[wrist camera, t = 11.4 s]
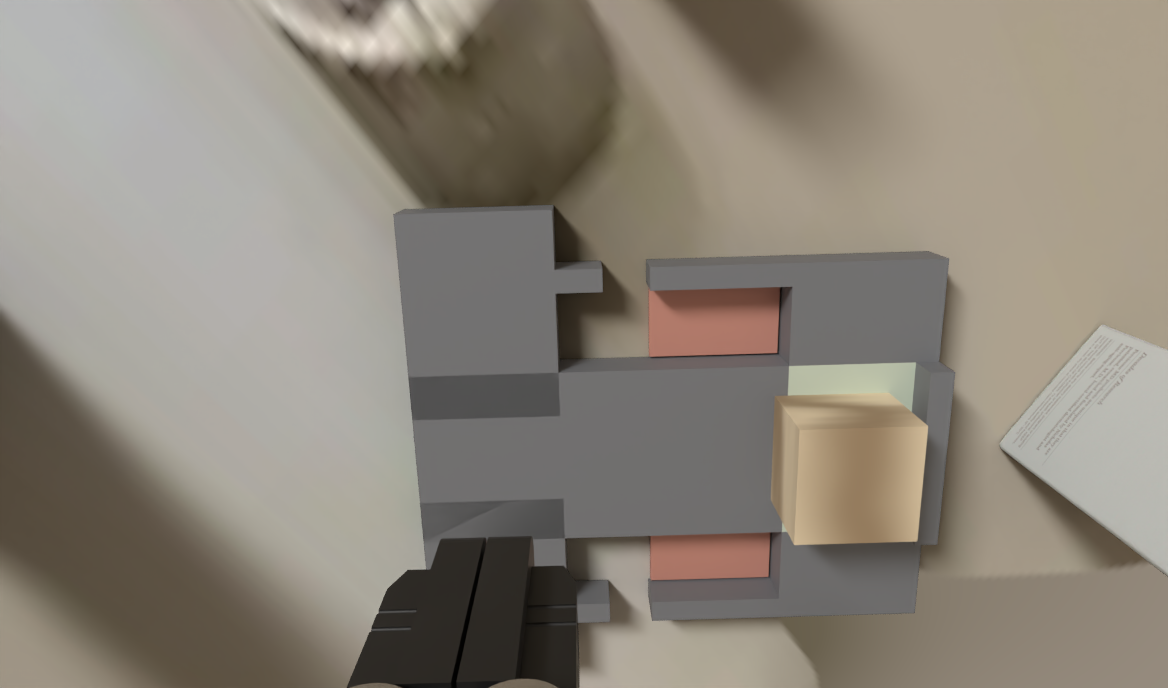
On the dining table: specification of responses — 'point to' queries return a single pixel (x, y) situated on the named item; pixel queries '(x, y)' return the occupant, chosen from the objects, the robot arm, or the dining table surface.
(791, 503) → the block
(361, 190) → the dining table surface
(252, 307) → the dining table surface
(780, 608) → the track
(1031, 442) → the supplement box
